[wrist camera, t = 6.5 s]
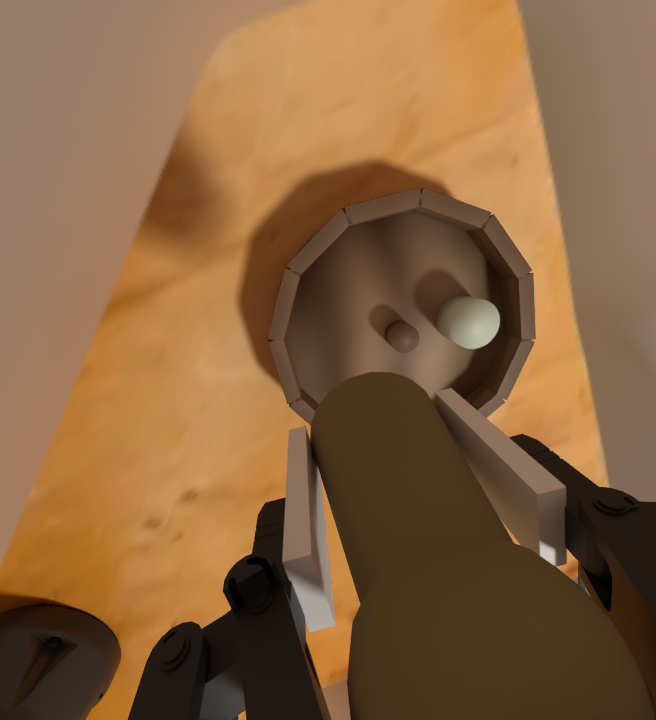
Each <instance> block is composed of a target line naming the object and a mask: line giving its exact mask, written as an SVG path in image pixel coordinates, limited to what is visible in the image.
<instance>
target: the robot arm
mask: <svg viewBox="0 0 656 720" xmlns="http://www.w3.org/2000/svg"><path fill="white" fill-rule="evenodd" d="M435 398H436V405H437V410H438V412H439V414H440V416H441V417H442V419H443V421H444V423H445V424H446V426H447V428H448V430H449V431H450V433H451V435H452V437H453V438H454V440H455V442H456V443H457V445H458V447H459V449H460V450H461V452H462V454H463V456H464V457H465V459H466V461H467V463H468V464H469V466H470V468H471V470H472V471H473V473H474V475H475V476H476V478H477V480H478V482H479V483H480V485H481V487H482V489H483V490H484V492H485V494H486V496H487V497H488V499H489V501H490V503H491V504H492V506H493V508H494V510H495V511H496V513H497V515H498V516H499V517H500V519H501V520H502V521H503V522H504V524H505V525H506V526H507V528H508V529H509V530H510V532H511V533H512V534H513V535H514V537H515V538H516V539H517V541H518V542H519V543H520V544H521V546H523V547H526V548H529V549H531V550H532V551H534V552H535V553H537V554H538V555H540V556H541V557H543V558H544V559H545V560H547V561H548V562H550V563H551V564H553V565H554V566H555V567H556V566H560V565H564V564H567V554H566V548H567V549H568V550H569V551H570V552H571V554H572V555H573V556H574V557H575V558H576V559H577V560H578V585H579V586H580V587H582V588H583V589H584V590H585V586H586V588H587V590H588V592H589V594H590V595H591V598H592V599H593V601H594V602H595V603H596V604H597V605H598V606H599V607H600V608H601V610H602V611H603V612H604V613H605V614H606V615H607V616H608V618H609V619H610V620H611V621H612V622H613V624H614V626H615V627H616V629H617V631H618V632H619V634H620V636H621V637H622V639H623V641H624V642H625V644H626V646H627V647H628V649H629V651H630V653H631V654H632V656H633V658H634V659H635V661H636V663H637V664H638V666H639V668H640V670H641V672H642V674H643V676H644V678H645V680H646V682H647V684H648V686H649V688H650V692H651V695H652V698H653V701H654V704H655V707H656V502H640V501H638V500H637V499H635V498H634V497H632V496H630V495H628V494H626V493H624V492H622V491H619V490H616V489H612V488H607V487H598V486H597V485H596V484H594V483H593V482H592V481H591V480H589V479H588V478H587V477H585V476H584V475H583V474H581V473H580V472H579V471H577V470H576V469H575V468H574V467H572V466H571V465H570V464H568V463H567V462H566V461H564V460H563V459H560V458H559V456H558V455H557V454H555V453H554V452H553V451H550V449H549V448H547V447H546V446H545V445H543V444H542V443H541V442H540V441H538V440H536V439H534V438H531V437H529V436H526V435H524V434H520V435H516V436H513V437H508V436H506V435H505V434H504V433H503V432H502V431H501V430H499V429H498V428H497V427H496V426H495V425H494V424H492V423H491V422H490V421H489V420H488V419H487V418H485V417H484V416H483V415H482V414H481V413H480V412H478V411H477V410H476V409H475V408H474V407H473V406H471V405H470V404H469V403H468V402H467V401H466V400H464V399H463V398H462V397H461V396H460V395H459V394H457V393H456V392H455V391H454V390H453V389H452V388H449V389H445V390H441V391H437V392H435ZM254 539H255V541H254V544H253V551H252V554H251V555H248V556H245V557H244V558H242V559H241V560H240V561H238V562H237V563H236V564H235V565H234V566H233V567H232V568H231V570H230V571H229V572H228V574H227V576H226V578H225V580H224V586H223V592H224V594H225V596H226V598H227V600H228V602H229V604H230V606H231V610H230V611H229V612H228V613H226V614H225V615H223V616H222V617H220V618H219V619H217V620H216V621H214V622H212V623H211V624H209V625H207V626H206V627H204V628H202V629H201V628H200V626H199V625H198V624H196V623H194V622H184V623H181V624H179V625H177V626H175V627H173V628H172V629H170V630H169V631H168V632H167V633H166V634H165V635H164V636H162V637H161V639H160V640H159V641H158V643H157V644H156V645H155V647H154V648H153V649H152V651H151V654H150V656H149V658H148V660H147V662H146V665H145V668H144V671H143V674H142V677H141V680H140V683H139V687H138V690H137V693H136V696H135V699H134V702H133V705H132V708H131V711H130V714H129V717H128V720H238V715H239V714H240V713H242V712H243V711H244V710H246V718H247V720H331V717H330V714H329V711H328V708H327V704H326V701H325V698H324V695H323V692H322V688H321V685H320V682H319V679H318V676H317V672H316V669H315V666H314V663H313V660H312V656H311V653H310V650H309V647H308V645H307V642H306V630H305V622H306V625H307V627H308V630H309V632H314V631H318V630H321V629H325V628H329V627H332V626H336V623H335V613H334V603H333V593H332V583H331V574H330V564H329V554H328V544H327V535H326V525H325V515H324V505H323V495H322V486H321V476H320V472H319V469H318V466H317V462H316V459H315V456H314V452H313V449H312V446H311V442H310V439H309V436H308V433H307V429H306V426H304V427H300V428H296V429H292V430H289V442H288V461H287V480H286V498H282V499H278V500H274V501H270V502H267V503H265V504H264V506H263V508H262V509H261V511H260V513H259V514H258V519H257V525H256V531H255V538H254ZM120 660H121V649H120V645H119V643H118V641H117V639H116V637H115V636H114V634H113V633H112V632H111V631H110V630H109V629H108V628H107V627H106V626H105V625H104V624H102V623H101V622H99V621H98V620H96V619H94V618H93V617H91V616H89V615H86V614H84V613H81V612H79V611H75V610H72V609H68V608H63V607H56V606H30V607H23V608H18V609H15V610H11V611H8V612H6V613H4V614H1V615H0V720H85V719H86V718H87V716H88V714H89V713H90V711H91V709H92V708H93V707H94V706H95V705H96V704H97V703H98V702H99V701H100V700H101V699H102V697H103V696H104V695H105V693H106V692H107V690H108V688H109V686H110V684H111V682H112V680H113V678H114V675H115V673H116V671H117V668H118V666H119V664H120Z"/></svg>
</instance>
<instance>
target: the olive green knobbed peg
mask: <svg viewBox="0 0 656 720" xmlns="http://www.w3.org/2000/svg"><path fill="white" fill-rule="evenodd" d="M310 442H311V446H312V449H313V452H314V455H315V459H316V462H317V465H318V468H319V472H320V475H321V478H322V481H323V485H324V488H325V491H326V494H327V497H328V501H329V504H330V507H331V510H332V514H333V517H334V520H335V523H336V527H337V530H338V533H339V536H340V539H341V543H342V546H343V549H344V552H345V556H346V559H347V562H348V565H349V569H350V572H351V575H352V578H353V581H354V585H355V588H356V591H357V594H358V598H359V601H360V604H361V605H360V607H359V610H358V612H357V614H356V616H355V618H354V620H353V624H352V634H351V643H350V655H349V667H348V680H347V686H348V696H349V705H350V715H351V720H656V707H655V704H654V701H653V698H652V695H651V692H650V688H649V686H648V684H647V682H646V680H645V678H644V676H643V674H642V672H641V670H640V668H639V666H638V664H637V663H636V661H635V659H634V658H633V656H632V654H631V653H630V651H629V649H628V647H627V646H626V644H625V642H624V641H623V639H622V637H621V636H620V634H619V632H618V631H617V629H616V627H615V626H614V624H613V622H612V621H611V620H610V619H609V618H608V616H607V615H606V614H605V613H604V612H603V611H602V610H601V608H600V607H599V606H598V605H597V604H596V603H595V602H594V601H593V599H592V598H591V597H590V596H589V595H588V594H587V593H586V591H585V590H584V589H583V588H582V587H580V586H579V585H578V584H576V583H575V582H574V581H573V580H571V579H570V578H569V577H568V576H566V575H565V574H564V573H563V572H561V571H560V570H559V569H558V568H556V567H555V566H554V565H553V564H551V563H550V562H548V561H547V560H545V559H544V558H543V557H541V556H540V555H538V554H537V553H535V552H534V551H532V550H531V549H529V548H526V547H523V546H520V545H517V544H514V543H513V541H512V539H511V537H510V536H509V534H508V532H507V530H506V529H505V527H504V525H503V523H502V522H501V520H500V518H499V516H498V515H497V513H496V511H495V510H494V508H493V506H492V504H491V503H490V501H489V499H488V497H487V496H486V494H485V492H484V490H483V489H482V487H481V485H480V483H479V482H478V480H477V478H476V476H475V475H474V473H473V471H472V470H471V468H470V466H469V464H468V463H467V461H466V459H465V457H464V456H463V454H462V452H461V450H460V449H459V447H458V445H457V443H456V442H455V440H454V438H453V437H452V435H451V433H450V431H449V430H448V428H447V426H446V424H445V423H444V421H443V419H442V417H441V416H440V414H439V412H438V410H437V409H436V407H435V405H434V404H433V402H432V400H431V399H430V397H429V395H428V394H427V392H426V390H424V389H423V388H422V387H420V386H419V385H418V384H417V383H415V382H414V381H413V380H412V379H410V378H407V377H404V376H401V375H398V374H395V373H392V372H368V373H365V374H361V375H358V376H354V377H351V378H349V379H347V380H346V381H344V382H342V383H341V384H339V385H338V386H336V387H335V388H333V389H332V390H331V391H330V392H329V393H328V394H327V395H326V397H325V398H324V399H323V400H322V401H321V403H320V404H319V405H318V407H317V409H316V412H315V414H314V417H313V419H312V422H311V435H310Z"/></svg>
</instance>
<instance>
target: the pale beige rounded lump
mask: <svg viewBox="0 0 656 720" xmlns="http://www.w3.org/2000/svg"><path fill="white" fill-rule="evenodd" d="M436 325H437V328H438V331H439V332H440V334H441V335H442V336H444V337H445V338H447V339H449V340H451V341H453V342H454V343H456V344H458V345H460V346H462V347H464V348H467V349H476V348H480V347H483V346H485V345H486V344H488V343H489V342H490V341H491V340H492V339H493V338H494V337H495V335H496V333H497V331H498V329H499V325H500V316H499V312H498V310H497V308H496V307H495V306H494V305H493V304H492V303H490V302H489V301H486V300H482V299H478V298H473V297H469V296H464V295H458V296H454V297H451V298H449V299H448V300H446V301H445V302H444V303H443V304H442V305H441V307H440V308H439V310H438V313H437V317H436Z"/></svg>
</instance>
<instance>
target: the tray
mask: <svg viewBox="0 0 656 720" xmlns="http://www.w3.org/2000/svg"><path fill="white" fill-rule="evenodd" d="M490 214H491V212H489V211H486V210H483V209H481V208H478V207H475V206H472V205H470V204H467V203H464V202H461V201H459V200H456V199H453V198H450V197H448V196H445V195H442V194H439V193H437V192H434V191H431V190H428V189H426V188H422V189H421V190H420V188H416V189H412V190H408V191H405V192H401V193H397V194H393V195H389V196H385V197H381V198H377V199H373V200H369V201H366V202H362V203H358V204H354V205H350V206H346V207H344V208H343V209H341V210H340V211H339V212H338V213H337V214H336V215H335V216H334V217H333V218H332V219H331V220H330V221H329V222H328V223H326V224H325V225H323V226H322V227H321V228H320V229H319V230H318V231H317V232H316V233H315V234H313V235H312V236H311V237H310V238H309V240H308V241H307V242H306V243H305V244H304V245H303V247H302V248H301V249H300V250H299V251H298V253H297V254H296V256H295V257H294V258H293V259H292V260H291V261H290V262H289V263H288V264H287V266H288V268H285V271H284V275H283V279H282V282H281V284H280V288H279V291H278V294H277V297H276V301H275V307H274V312H273V320H272V324H271V328H270V332H269V336H268V339H269V341H268V344H269V347H270V350H271V353H272V357H273V360H274V363H275V366H276V369H277V373H278V376H279V379H280V382H281V385H282V388H283V392H284V395H285V398H286V401H287V404H289V407H290V408H291V409H293V410H294V411H295V412H296V413H297V414H298V415H300V416H301V417H302V418H303V419H304V420H305V421H306V422H308V423H309V424H310V425H311V422H312V419H313V417H314V414H315V412H316V409H317V407H318V405H319V404H320V403H321V401H322V400H323V399H324V398H325V397H326V395H327V394H328V393H329V392H330V391H331V390H332V389H333V388H335V387H336V386H338V385H339V384H341V383H342V382H344V381H346V380H347V379H349V378H351V377H354V376H358V375H361V374H365V373H368V372H392V373H395V374H398V375H401V376H404V377H407V378H410V379H412V380H413V381H414V382H415V383H417V384H418V385H419V386H420V387H422V388H423V389H424V390H426V392H427V394H428V395H429V397H430V399H431V400H432V402H433V404H434V405H435V407H436V409H437V405H436V398H435V392H437V391H441V390H445V389H449V388H452V389H453V390H454V391H455V392H456V393H457V394H459V395H460V396H461V397H462V398H463V399H464V400H466V401H467V402H468V403H469V404H470V405H471V406H473V407H474V408H475V409H476V410H477V411H478V412H480V413H481V414H482V415H483V416H484V417H485V418H487V417H488V416H489V415H490V414H492V413H493V412H494V411H495V410H496V409H498V408H499V407H500V406H501V405H502V404H504V403H505V401H504V400H503V399H506V400H507V399H508V397H509V395H510V393H511V391H512V389H513V386H514V384H515V382H516V380H517V378H518V376H519V374H520V372H521V370H522V368H523V366H524V364H525V361H526V359H527V357H528V355H529V353H530V351H531V349H532V347H533V345H534V343H535V342H534V341H531V340H533V339H536V335H535V308H534V281H533V273H529V272H531V271H532V269H531V268H530V266H529V265H528V263H527V262H526V260H525V259H524V257H523V256H522V255H521V253H520V252H519V250H518V249H517V247H516V246H515V244H514V243H513V241H512V240H511V239H510V237H509V236H508V234H507V233H506V231H505V230H504V228H503V227H502V225H501V224H500V222H499V221H498V220H497V218H496V217H495V215H490ZM458 295H464V296H469V297H473V298H478V299H482V300H486V301H489V302H490V303H492V304H493V305H494V306H495V307H496V308H497V310H498V312H499V316H500V325H499V329H498V331H497V333H496V335H495V337H494V338H493V339H492V340H491V341H490V342H489V343H488V344H486V345H485V346H483V347H480V348H476V349H467V348H464V347H462V346H460V345H458V344H456V343H454V342H453V341H451V340H449V339H447V338H445V337H444V336H442V335H441V334H440V332H439V331H438V328H437V325H436V317H437V313H438V310H439V308H440V307H441V305H442V304H443V303H444V302H445V301H446V300H448V299H449V298H451V297H454V296H458Z"/></svg>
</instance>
